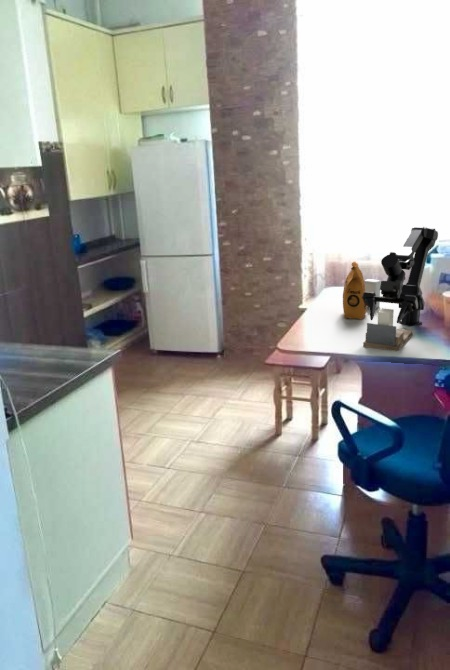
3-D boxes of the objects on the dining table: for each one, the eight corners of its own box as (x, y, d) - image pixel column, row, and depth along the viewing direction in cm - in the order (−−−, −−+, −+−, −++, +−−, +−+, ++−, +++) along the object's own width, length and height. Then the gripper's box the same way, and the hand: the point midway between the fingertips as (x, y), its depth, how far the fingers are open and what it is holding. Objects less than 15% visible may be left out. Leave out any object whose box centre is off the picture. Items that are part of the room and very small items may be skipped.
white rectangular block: (381, 337, 200) (382, 308, 197) (392, 339, 198) (393, 309, 194) (376, 341, 196) (378, 312, 193) (388, 343, 194) (389, 313, 190)
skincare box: (362, 306, 246) (363, 280, 243) (367, 304, 249) (368, 278, 245) (374, 308, 242) (375, 282, 238) (379, 306, 245) (380, 280, 241)
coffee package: (340, 319, 230) (341, 266, 223) (343, 311, 241) (344, 261, 234) (365, 320, 227) (366, 267, 220) (366, 311, 238) (368, 261, 231)
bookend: (367, 341, 196) (367, 323, 194) (395, 345, 191) (396, 326, 189) (366, 342, 196) (367, 323, 194) (394, 346, 191) (395, 326, 189)
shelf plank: (380, 330, 212) (380, 319, 211) (412, 334, 206) (413, 323, 205) (363, 346, 197) (363, 334, 195) (397, 351, 190) (397, 338, 189)
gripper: (364, 269, 197) (353, 306, 192) (418, 272, 188) (407, 312, 182) (370, 286, 206) (360, 322, 201) (422, 290, 197) (412, 328, 191)
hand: (384, 321), depth 194 cm, fingers open, 9 cm apart
